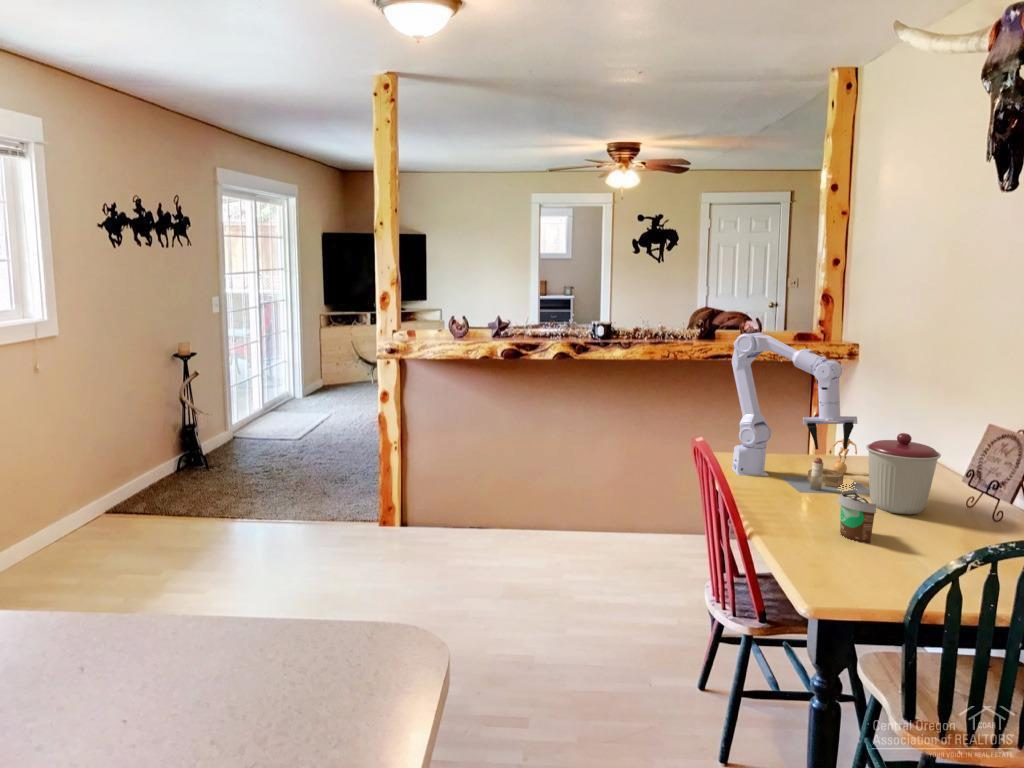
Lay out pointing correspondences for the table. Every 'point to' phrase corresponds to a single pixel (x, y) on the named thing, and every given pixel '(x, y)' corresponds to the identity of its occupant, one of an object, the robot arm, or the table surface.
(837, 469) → the figurine
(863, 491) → the felt mat
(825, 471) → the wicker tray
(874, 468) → the canister
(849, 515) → the food container
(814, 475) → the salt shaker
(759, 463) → the robot arm
